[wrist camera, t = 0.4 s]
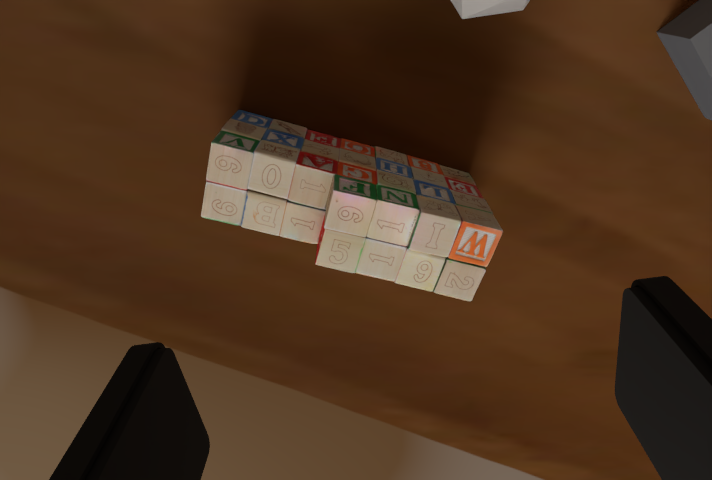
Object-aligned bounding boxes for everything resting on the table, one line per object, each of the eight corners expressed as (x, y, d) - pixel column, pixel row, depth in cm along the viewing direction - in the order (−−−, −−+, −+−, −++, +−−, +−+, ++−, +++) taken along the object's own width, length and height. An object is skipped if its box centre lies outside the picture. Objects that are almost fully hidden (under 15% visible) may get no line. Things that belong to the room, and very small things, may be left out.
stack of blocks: (226, 174, 47) (186, 235, 36) (238, 107, 44) (198, 151, 33) (447, 231, 50) (472, 304, 39) (471, 171, 47) (505, 232, 36)
